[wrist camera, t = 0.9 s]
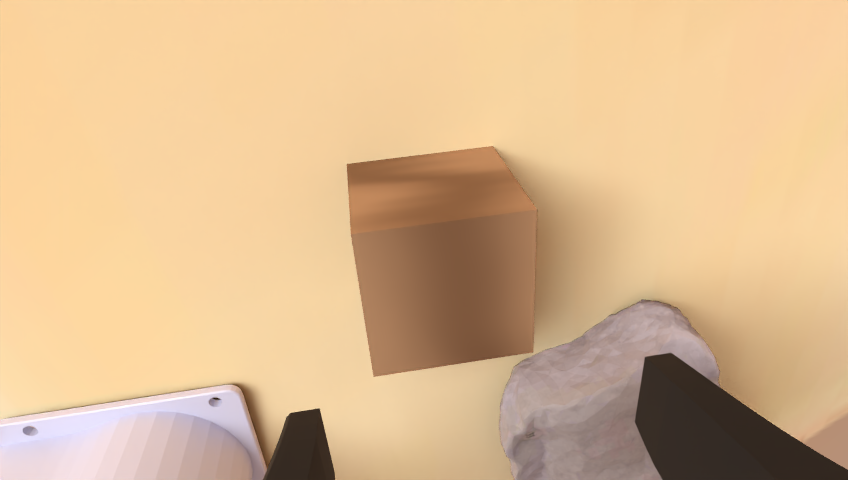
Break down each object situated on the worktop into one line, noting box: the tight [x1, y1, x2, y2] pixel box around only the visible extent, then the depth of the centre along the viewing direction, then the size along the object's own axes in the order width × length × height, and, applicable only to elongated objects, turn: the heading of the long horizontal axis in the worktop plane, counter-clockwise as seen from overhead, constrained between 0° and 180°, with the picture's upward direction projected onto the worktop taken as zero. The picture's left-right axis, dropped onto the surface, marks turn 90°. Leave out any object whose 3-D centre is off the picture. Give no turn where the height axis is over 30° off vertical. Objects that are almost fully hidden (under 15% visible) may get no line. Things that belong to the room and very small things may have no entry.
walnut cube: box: [347, 146, 537, 377], centre depth 19 cm, size 5×5×5 cm
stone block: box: [499, 300, 720, 480], centre depth 26 cm, size 12×5×10 cm
